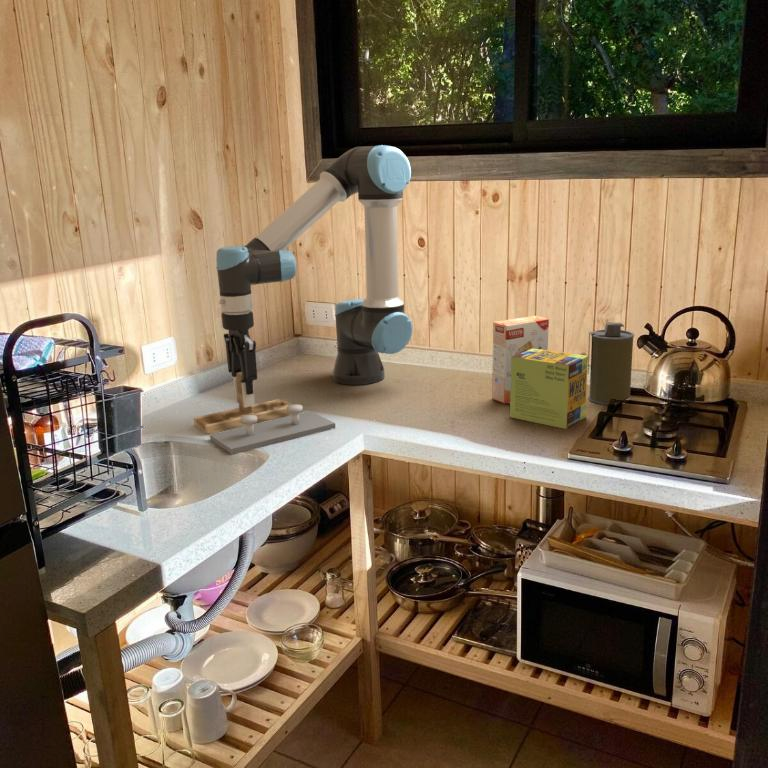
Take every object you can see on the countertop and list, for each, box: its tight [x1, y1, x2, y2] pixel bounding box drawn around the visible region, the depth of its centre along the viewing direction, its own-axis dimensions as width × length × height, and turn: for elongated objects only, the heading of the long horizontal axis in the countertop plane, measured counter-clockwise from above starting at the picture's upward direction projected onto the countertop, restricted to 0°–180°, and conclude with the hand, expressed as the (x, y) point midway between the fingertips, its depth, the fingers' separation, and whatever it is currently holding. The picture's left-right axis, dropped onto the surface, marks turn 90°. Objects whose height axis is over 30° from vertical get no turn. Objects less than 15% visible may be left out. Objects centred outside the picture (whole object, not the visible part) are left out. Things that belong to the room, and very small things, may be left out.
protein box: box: [509, 349, 588, 429], centre depth 192 cm, size 10×15×16 cm
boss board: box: [209, 404, 336, 455], centre depth 189 cm, size 27×12×5 cm, turn 125°
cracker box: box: [491, 315, 550, 405], centre depth 207 cm, size 14×6×21 cm, turn 119°
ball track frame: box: [193, 372, 294, 436], centre depth 199 cm, size 24×9×12 cm, turn 125°
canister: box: [587, 321, 635, 406], centre depth 203 cm, size 11×10×20 cm
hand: (245, 403), depth 199 cm, fingers open, 4 cm apart
